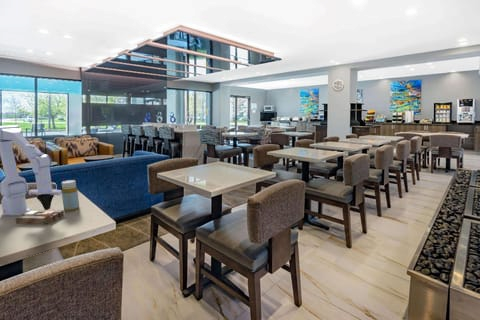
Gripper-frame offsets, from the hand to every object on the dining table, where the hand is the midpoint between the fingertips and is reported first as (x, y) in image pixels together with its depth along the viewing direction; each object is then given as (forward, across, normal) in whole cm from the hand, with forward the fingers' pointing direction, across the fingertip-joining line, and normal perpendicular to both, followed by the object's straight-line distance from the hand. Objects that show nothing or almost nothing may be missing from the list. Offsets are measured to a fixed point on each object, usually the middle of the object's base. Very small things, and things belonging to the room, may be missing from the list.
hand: (47, 209), depth 132 cm
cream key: (+5, -8, 0) cm, 9 cm away
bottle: (+6, +2, +14) cm, 15 cm away
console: (+6, -4, 0) cm, 7 cm away
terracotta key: (+5, 0, 0) cm, 5 cm away
